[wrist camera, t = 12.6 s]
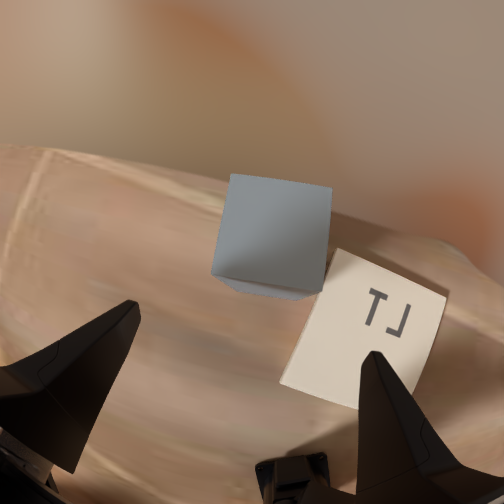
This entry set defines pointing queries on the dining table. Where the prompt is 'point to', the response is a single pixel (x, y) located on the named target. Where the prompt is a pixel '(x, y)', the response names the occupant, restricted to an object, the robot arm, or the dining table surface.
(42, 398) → the robot arm
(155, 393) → the dining table surface
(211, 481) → the dining table surface
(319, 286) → the slate-blue block
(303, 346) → the tile
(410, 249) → the dining table surface
